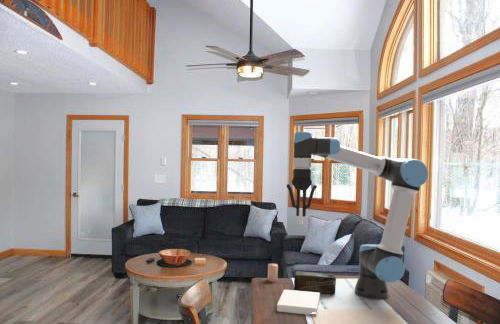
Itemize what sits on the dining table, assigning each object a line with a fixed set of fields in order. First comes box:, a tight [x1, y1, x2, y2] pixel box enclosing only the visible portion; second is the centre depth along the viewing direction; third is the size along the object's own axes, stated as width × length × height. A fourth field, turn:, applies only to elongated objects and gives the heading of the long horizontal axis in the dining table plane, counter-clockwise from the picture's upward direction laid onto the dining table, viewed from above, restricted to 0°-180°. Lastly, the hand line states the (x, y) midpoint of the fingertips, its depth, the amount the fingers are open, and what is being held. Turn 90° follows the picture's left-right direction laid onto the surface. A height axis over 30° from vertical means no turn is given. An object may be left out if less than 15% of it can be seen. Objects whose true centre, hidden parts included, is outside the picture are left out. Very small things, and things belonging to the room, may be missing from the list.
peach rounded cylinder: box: [267, 263, 279, 283], centre depth 210 cm, size 5×5×8 cm
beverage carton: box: [293, 271, 337, 295], centre depth 194 cm, size 8×19×7 cm
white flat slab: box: [276, 288, 321, 315], centre depth 175 cm, size 16×20×3 cm
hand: (300, 224), depth 175 cm, fingers closed
